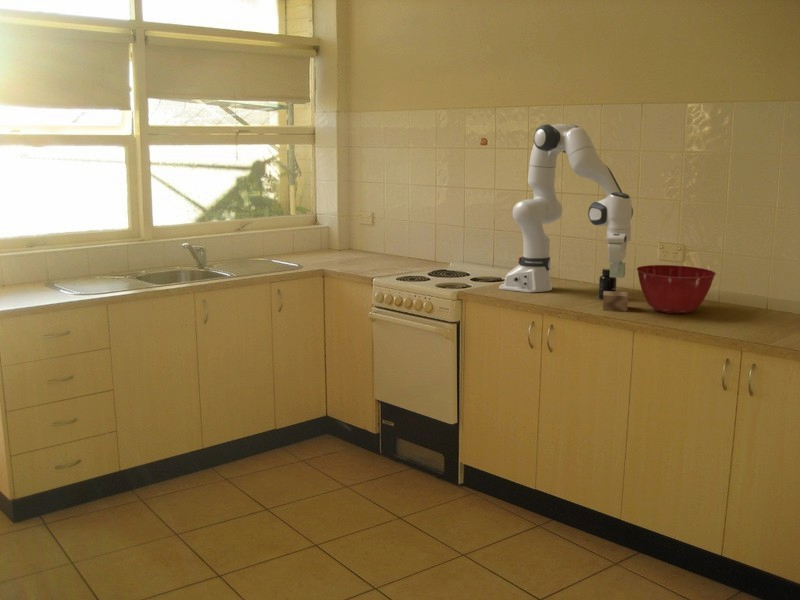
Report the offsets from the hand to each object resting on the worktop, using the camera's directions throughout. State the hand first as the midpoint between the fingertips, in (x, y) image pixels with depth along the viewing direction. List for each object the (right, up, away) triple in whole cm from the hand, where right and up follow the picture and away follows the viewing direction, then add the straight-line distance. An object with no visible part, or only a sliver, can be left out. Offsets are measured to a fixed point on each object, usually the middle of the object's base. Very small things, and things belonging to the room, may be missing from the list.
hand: (617, 272), depth 313 cm
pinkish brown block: (0, -14, +3) cm, 14 cm away
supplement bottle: (+2, -10, +22) cm, 25 cm away
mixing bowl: (+21, -15, -1) cm, 26 cm away
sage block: (0, -2, 0) cm, 2 cm away
